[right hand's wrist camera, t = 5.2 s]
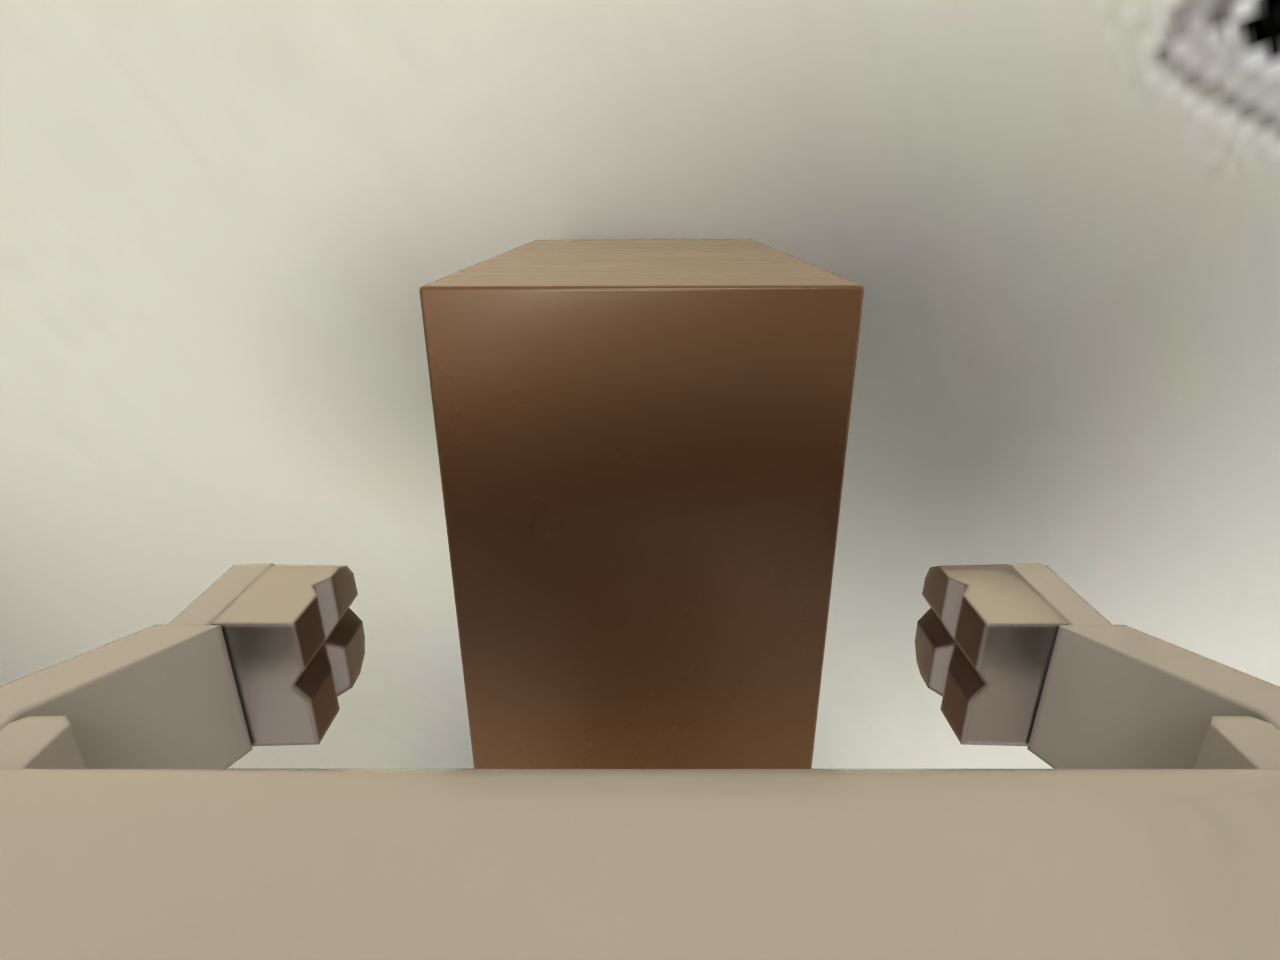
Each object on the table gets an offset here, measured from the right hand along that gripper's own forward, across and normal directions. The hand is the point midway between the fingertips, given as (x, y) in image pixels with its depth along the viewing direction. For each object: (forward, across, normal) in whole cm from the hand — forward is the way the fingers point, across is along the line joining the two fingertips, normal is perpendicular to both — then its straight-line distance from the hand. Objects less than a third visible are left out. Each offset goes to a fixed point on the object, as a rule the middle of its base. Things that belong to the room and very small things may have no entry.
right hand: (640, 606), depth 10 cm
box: (+12, 0, -9) cm, 15 cm away
